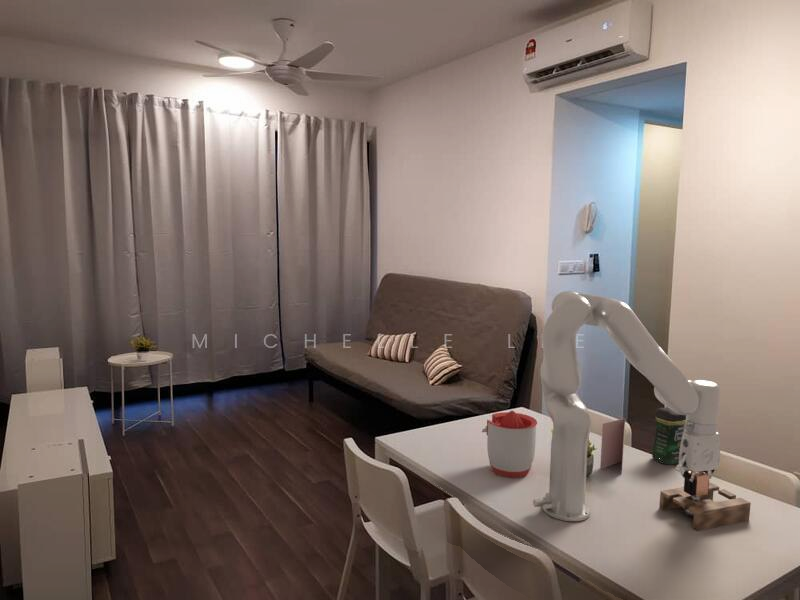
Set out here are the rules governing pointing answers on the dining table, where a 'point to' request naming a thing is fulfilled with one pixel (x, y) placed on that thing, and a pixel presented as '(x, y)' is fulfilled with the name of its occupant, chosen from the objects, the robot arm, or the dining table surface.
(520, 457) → the citrus juicer
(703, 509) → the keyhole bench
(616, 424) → the greeting card
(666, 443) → the coffee jar
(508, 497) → the dining table surface
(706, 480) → the keyhole peg
